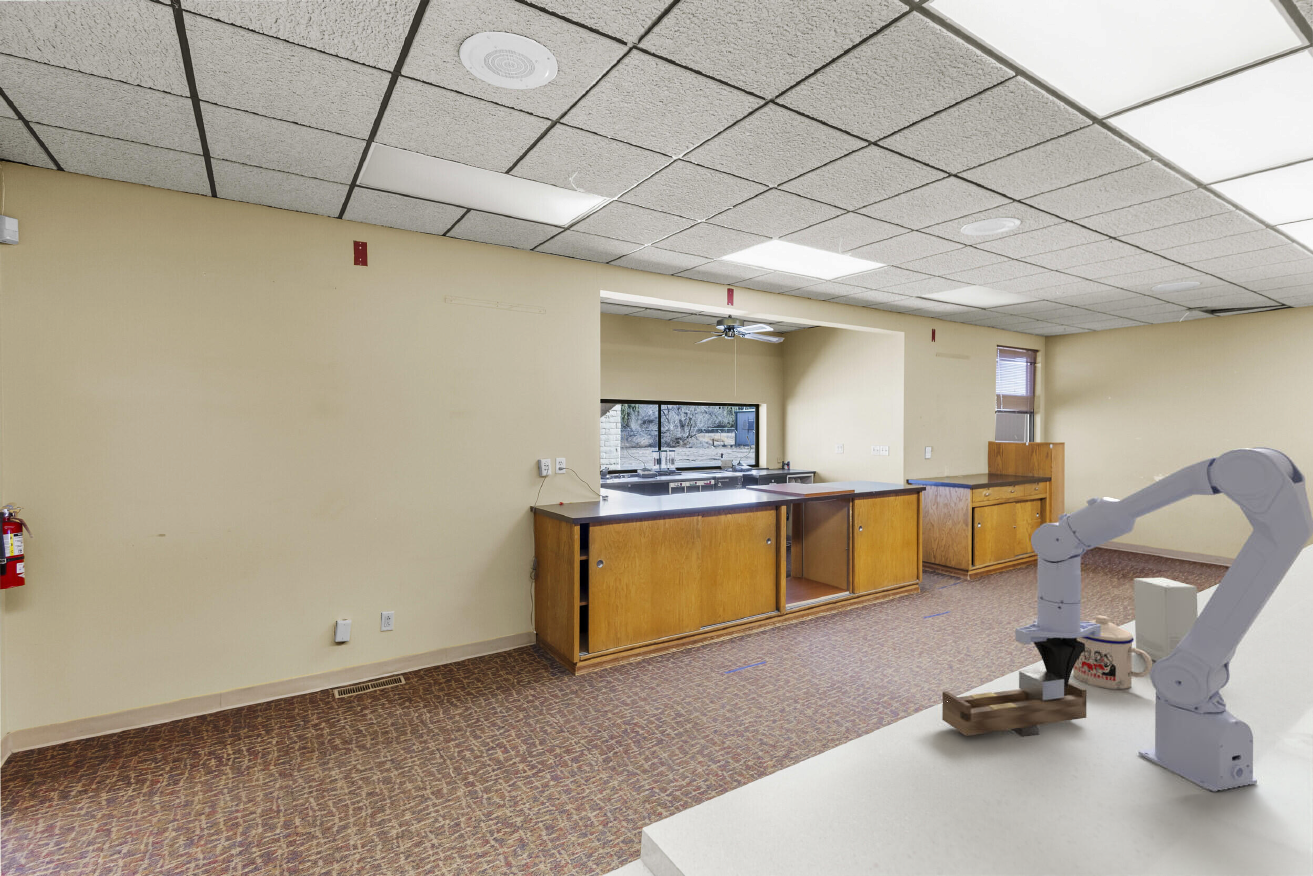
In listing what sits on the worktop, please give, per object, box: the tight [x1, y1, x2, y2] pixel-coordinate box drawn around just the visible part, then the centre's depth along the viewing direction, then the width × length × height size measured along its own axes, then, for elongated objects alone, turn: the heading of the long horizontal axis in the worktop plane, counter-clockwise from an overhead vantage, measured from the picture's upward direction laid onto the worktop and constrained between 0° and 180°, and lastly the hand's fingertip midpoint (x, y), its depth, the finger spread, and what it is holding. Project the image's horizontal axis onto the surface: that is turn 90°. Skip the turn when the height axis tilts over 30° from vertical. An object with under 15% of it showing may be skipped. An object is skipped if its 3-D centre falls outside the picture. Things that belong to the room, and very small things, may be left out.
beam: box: [941, 681, 1088, 738], centre depth 94 cm, size 22×6×6 cm, turn 104°
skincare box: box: [1133, 577, 1199, 663], centre depth 121 cm, size 8×7×16 cm
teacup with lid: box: [1072, 615, 1153, 690], centre depth 110 cm, size 12×9×12 cm
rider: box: [1018, 668, 1064, 701], centre depth 95 cm, size 4×4×4 cm
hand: (1058, 684), depth 96 cm, fingers closed
